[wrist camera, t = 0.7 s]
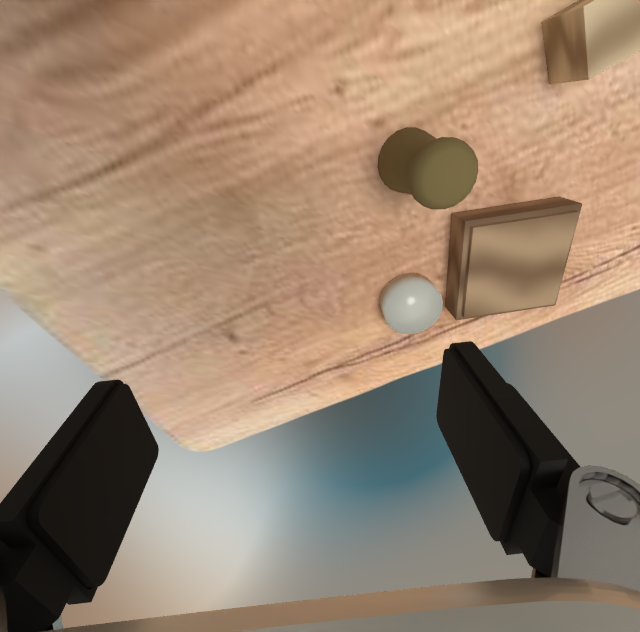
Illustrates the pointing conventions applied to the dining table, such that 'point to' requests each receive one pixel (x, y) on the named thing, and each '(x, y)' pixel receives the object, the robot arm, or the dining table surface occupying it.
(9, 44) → the dining table surface
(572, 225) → the walnut stand
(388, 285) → the pale grey dome
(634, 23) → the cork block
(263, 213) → the dining table surface
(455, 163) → the pepper shaker
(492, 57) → the dining table surface
